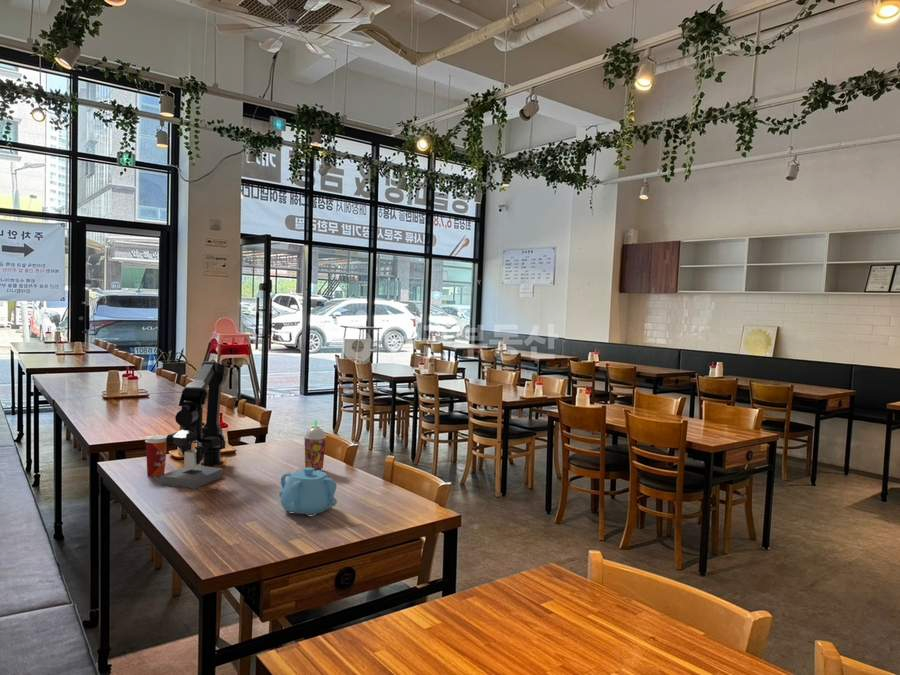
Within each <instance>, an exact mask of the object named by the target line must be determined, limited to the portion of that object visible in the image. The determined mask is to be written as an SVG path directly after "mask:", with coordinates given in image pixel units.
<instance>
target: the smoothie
mask: <svg viewBox="0 0 900 675" xmlns="http://www.w3.org/2000/svg"><path fill="white" fill-rule="evenodd" d="M317 422H318V421H317V419H316V420H315V419H314V427H311V428H309V429H308V430H307V431H306V433H305V435H304V436H303V438H304V468H307V467H311V468H314V471H317V470H321V469H323V468H324V461H325V452H326V451H325V449H326V441H327V440H326V439H327V435H326V433H325V431H324V430H323V429H322V428H320V427H318V425H317V424H318V423H317ZM321 471H322V470H321Z"/></svg>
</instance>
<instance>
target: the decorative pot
mask: <svg viewBox="0 0 900 675" xmlns="http://www.w3.org/2000/svg"><path fill="white" fill-rule="evenodd" d="M286 477H288V479H287V480H286ZM280 485H281V488H282V490H281V491H279V498H280V504H281V506H282V507H283V509H284V510H285V511H287V512H289V511H290V512H294V513H293V514H301V515H307V514H308V515H314V514H316V515H317V514H321V513H323V512H325V511H326V510H329V508H330V507H334V506H336V504H337V503H338V501H337V499H336V498H335V493H336V490H337V483H336V481H335V480H334V479H333V478H331V477H329V475H328V473H326V472H324V471H323V470H317V471H314V468H311V467H307V468H305V467H304V468H303V469H302V470H301V469H300V470H299V471H295V472H293V473H292V472H286V473H284V474H283V475H282V476H281V478H280Z"/></svg>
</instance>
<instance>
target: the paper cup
mask: <svg viewBox="0 0 900 675" xmlns="http://www.w3.org/2000/svg"><path fill="white" fill-rule="evenodd" d="M167 436H168V435H167ZM167 436H166V435H162V434H161V435H160V434H156V435H149V436H146V438H145V440H144V443H145V451H146V452H145V455H146V458H145V459H146V473H147V474H146V475H147V477H149V476H158V477H160V475H163V474H165V470H166V462H167V460H166V459H167V450H168V449H167V448H168V443H166V437H167Z"/></svg>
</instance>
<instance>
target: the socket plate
mask: <svg viewBox="0 0 900 675" xmlns="http://www.w3.org/2000/svg"><path fill="white" fill-rule="evenodd" d="M223 472H224V468H220V467H215V466H206V465H204V466H203V465H201V467H199V468H196V469H194V470H193V469H185V468H184V466H182V467H180V468H177V469H174V470H171V471H168V472H166V473H164V474H163V475H160V476H159V485H163V484H167V485H166V486H171V485H173V487H178V486H181V487H180V488H186V487H189V488H188V489H194V488H196V489H198V488H200V487H202V486H204V485H207V484H209V483H211V482H213V481H215V480H216V481H217V480H218V479H220V478H222V477H223V475H224V473H223ZM197 487H198V488H197Z"/></svg>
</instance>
